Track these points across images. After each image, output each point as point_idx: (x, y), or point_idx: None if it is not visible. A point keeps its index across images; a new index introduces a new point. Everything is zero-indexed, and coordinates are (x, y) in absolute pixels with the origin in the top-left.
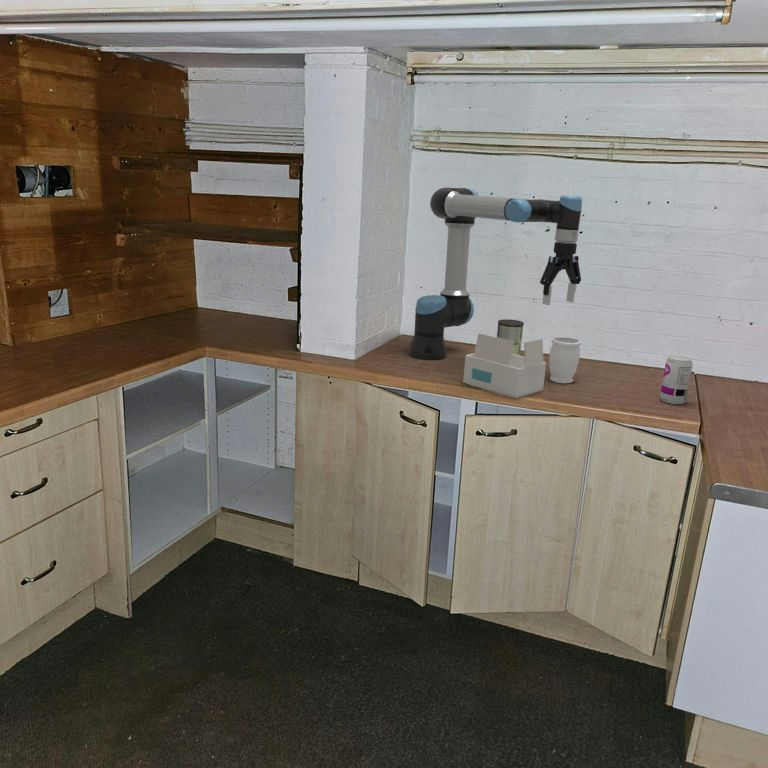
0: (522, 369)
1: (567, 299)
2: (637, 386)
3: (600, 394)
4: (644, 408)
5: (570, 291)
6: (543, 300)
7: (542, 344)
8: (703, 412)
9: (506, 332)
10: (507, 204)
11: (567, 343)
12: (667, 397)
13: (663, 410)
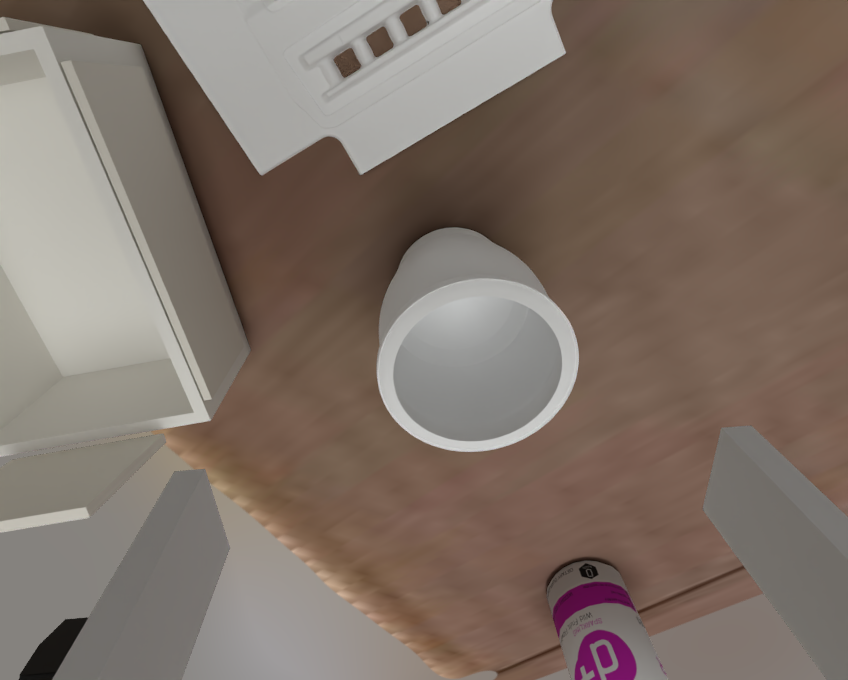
0: (2, 453)
1: (736, 459)
2: (658, 455)
3: (435, 463)
4: (437, 589)
5: (817, 593)
6: (157, 518)
7: (109, 496)
8: (557, 653)
9: None
10: None
11: (410, 429)
12: (550, 604)
13: (472, 614)
